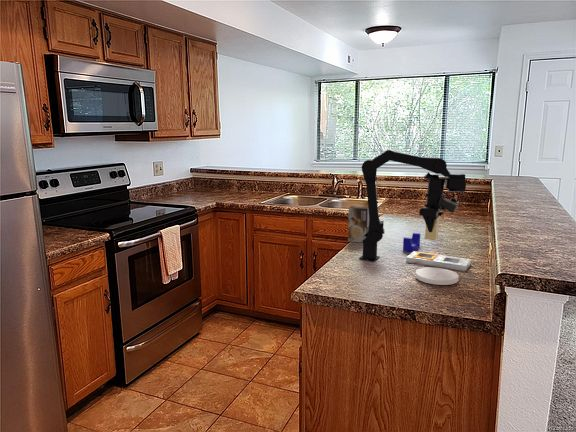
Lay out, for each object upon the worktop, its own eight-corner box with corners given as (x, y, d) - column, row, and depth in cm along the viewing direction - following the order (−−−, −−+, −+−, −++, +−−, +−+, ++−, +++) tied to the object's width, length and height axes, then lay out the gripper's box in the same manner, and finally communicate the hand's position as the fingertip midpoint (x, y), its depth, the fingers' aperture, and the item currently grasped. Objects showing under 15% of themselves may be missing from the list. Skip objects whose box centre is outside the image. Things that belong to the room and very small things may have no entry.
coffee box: (369, 240, 204) (370, 206, 201) (367, 243, 198) (368, 208, 195) (350, 238, 207) (351, 205, 204) (347, 241, 201) (348, 207, 198)
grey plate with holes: (465, 271, 158) (466, 265, 158) (406, 261, 169) (406, 256, 169) (470, 264, 166) (470, 258, 166) (413, 255, 178) (413, 250, 177)
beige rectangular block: (435, 240, 165) (437, 217, 163) (424, 238, 167) (426, 216, 165) (437, 238, 168) (440, 215, 166) (427, 236, 170) (429, 214, 168)
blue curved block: (413, 253, 182) (413, 239, 181) (402, 251, 185) (403, 237, 184) (423, 247, 192) (423, 233, 191) (413, 245, 195) (413, 232, 193)
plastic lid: (466, 286, 144) (467, 278, 143) (428, 289, 141) (428, 281, 140) (443, 272, 157) (443, 266, 157) (407, 275, 154) (408, 268, 154)
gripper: (452, 196, 152) (447, 239, 155) (462, 190, 167) (458, 229, 170) (420, 192, 158) (416, 234, 161) (433, 187, 173) (430, 225, 176)
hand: (431, 231), depth 167 cm, fingers closed on beige rectangular block, 4 cm apart
